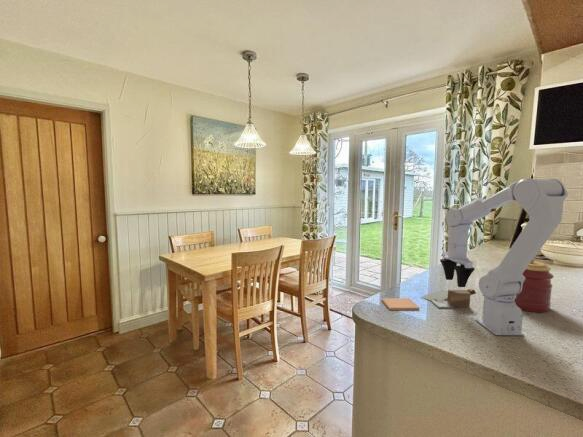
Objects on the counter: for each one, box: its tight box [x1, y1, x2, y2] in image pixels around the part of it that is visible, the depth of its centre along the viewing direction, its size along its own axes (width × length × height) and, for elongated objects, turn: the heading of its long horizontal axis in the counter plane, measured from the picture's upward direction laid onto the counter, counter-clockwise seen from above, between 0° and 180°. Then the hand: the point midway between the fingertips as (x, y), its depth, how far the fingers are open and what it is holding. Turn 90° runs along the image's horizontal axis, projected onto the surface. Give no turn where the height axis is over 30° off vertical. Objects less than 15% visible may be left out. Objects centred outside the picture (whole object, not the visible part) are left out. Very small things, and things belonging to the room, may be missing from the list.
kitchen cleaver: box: [420, 288, 476, 303], centre depth 110 cm, size 24×1×10 cm
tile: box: [381, 297, 420, 311], centre depth 100 cm, size 8×1×10 cm
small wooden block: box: [431, 289, 472, 309], centre depth 100 cm, size 5×11×5 cm, turn 89°
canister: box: [515, 258, 554, 313], centre depth 100 cm, size 13×13×18 cm
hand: (455, 283), depth 99 cm, fingers open, 7 cm apart
